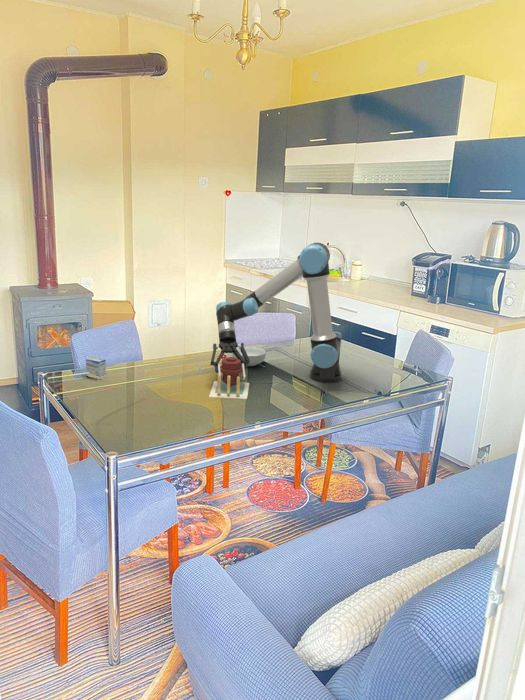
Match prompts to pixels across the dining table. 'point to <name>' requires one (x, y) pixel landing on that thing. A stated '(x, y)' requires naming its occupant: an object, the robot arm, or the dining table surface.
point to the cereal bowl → (253, 355)
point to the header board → (243, 390)
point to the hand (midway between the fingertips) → (232, 378)
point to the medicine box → (96, 366)
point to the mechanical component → (231, 369)
